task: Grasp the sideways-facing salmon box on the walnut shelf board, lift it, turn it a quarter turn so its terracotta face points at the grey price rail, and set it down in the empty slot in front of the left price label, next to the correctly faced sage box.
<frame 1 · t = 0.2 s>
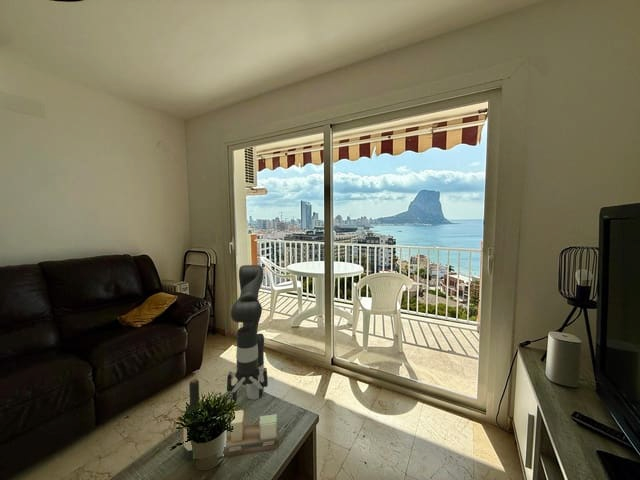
hand: (248, 398, 92), 28 cm above the table, fingers open, 8 cm apart
sage box: (268, 437, 107), point 2 cm above the table, touching shelf board
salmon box: (237, 434, 108), point 2 cm above the table, touching shelf board
shelf board: (249, 440, 107), on the table
wine bottle: (195, 451, 102), on the table
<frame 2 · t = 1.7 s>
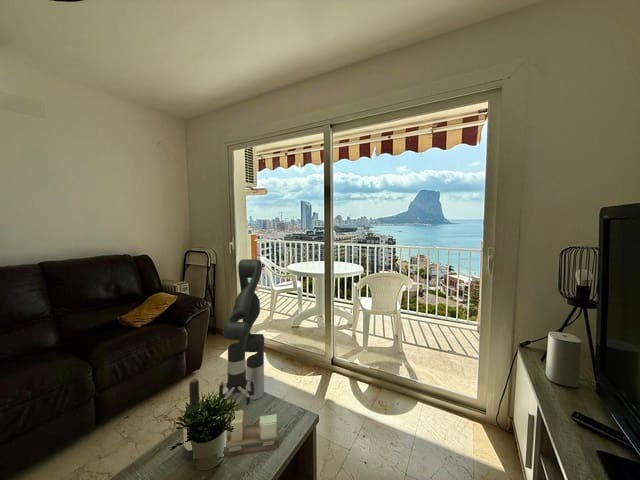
hand: (237, 405, 107), 15 cm above the table, fingers open, 8 cm apart
nothing on the table moved.
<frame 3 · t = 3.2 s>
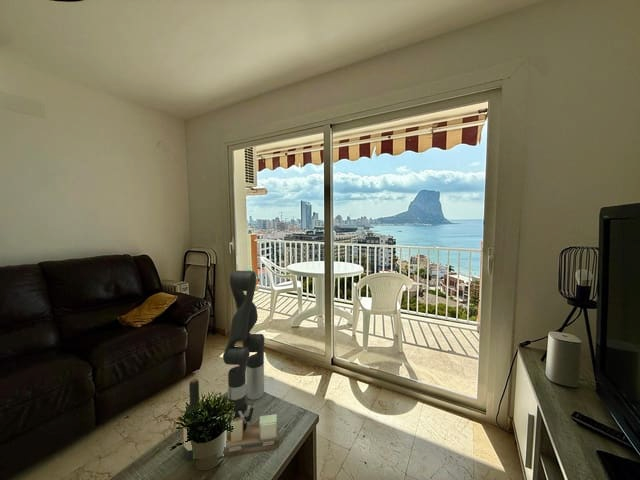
hand: (237, 430, 108), 4 cm above the table, fingers closed on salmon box, 4 cm apart
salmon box: (237, 434, 108), point 2 cm above the table, touching gripper, shelf board
everything else where it was.
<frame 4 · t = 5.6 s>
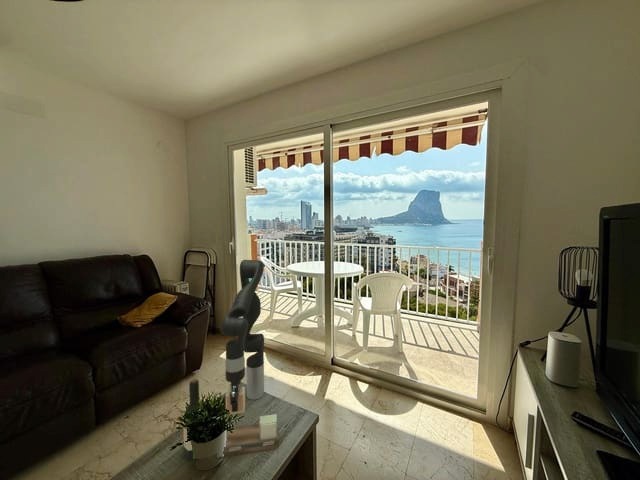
hand: (235, 406, 103), 18 cm above the table, fingers closed on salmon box, 4 cm apart
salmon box: (235, 409, 103), point 16 cm above the table, touching gripper
everything else where it was.
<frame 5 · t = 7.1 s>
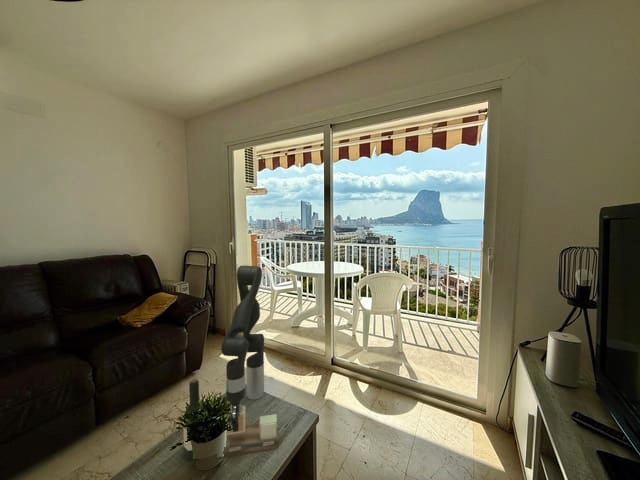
hand: (236, 425, 103), 9 cm above the table, fingers closed on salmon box, 4 cm apart
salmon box: (236, 429, 104), point 8 cm above the table, touching gripper
everything else where it was.
when the fingers open (5 cm above the table, at t = 8.4 s): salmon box drops 1 cm, resting on shelf board.
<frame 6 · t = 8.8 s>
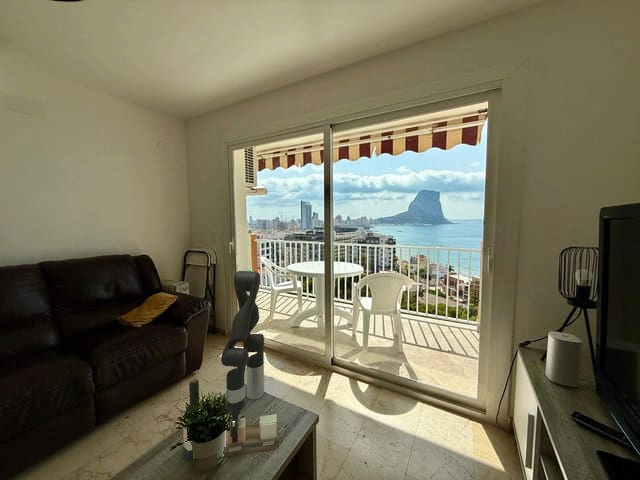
hand: (236, 433, 104), 6 cm above the table, fingers open, 8 cm apart
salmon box: (236, 441, 104), point 2 cm above the table, touching shelf board
everything else where it was.
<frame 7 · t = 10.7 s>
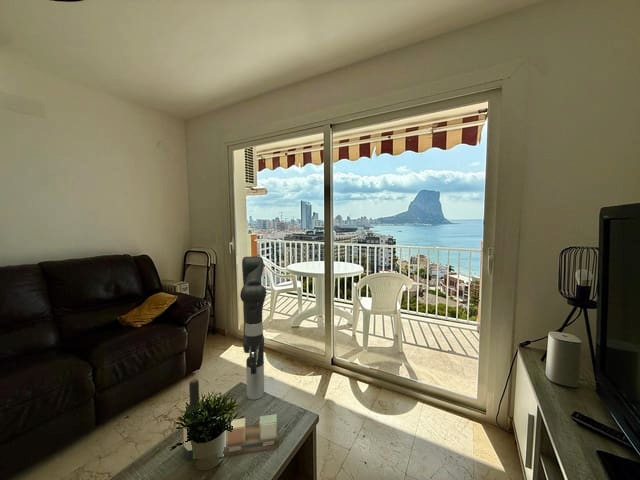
hand: (254, 367, 109), 30 cm above the table, fingers open, 8 cm apart
nothing on the table moved.
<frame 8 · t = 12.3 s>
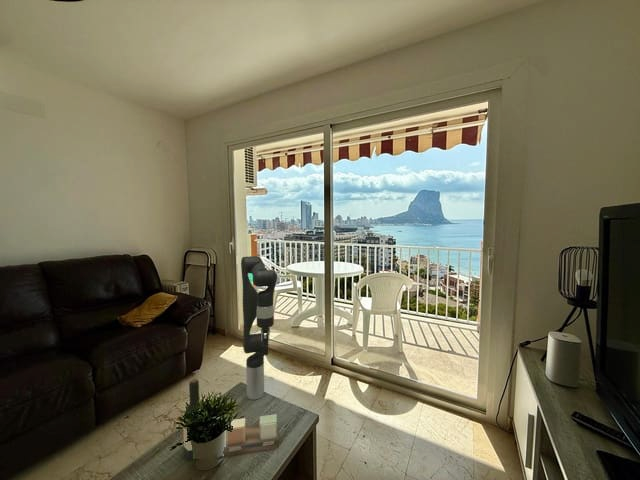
hand: (265, 350, 112), 36 cm above the table, fingers open, 8 cm apart
nothing on the table moved.
at the end: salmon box 0.3 cm from the target spot, point 2.0 cm above the table; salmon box tilted 0°; the gripper is holding nothing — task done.
